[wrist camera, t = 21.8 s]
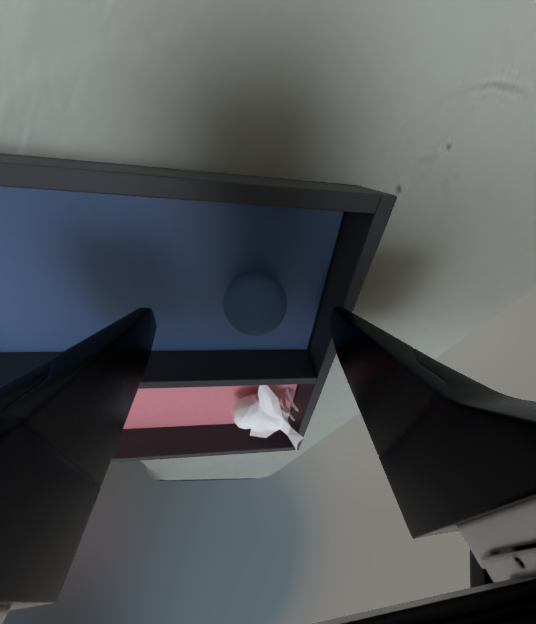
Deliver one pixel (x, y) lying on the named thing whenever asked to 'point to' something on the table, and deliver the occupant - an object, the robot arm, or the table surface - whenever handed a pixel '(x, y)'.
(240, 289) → the slate ball
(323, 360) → the tray
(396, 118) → the table surface
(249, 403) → the white bird figurine
